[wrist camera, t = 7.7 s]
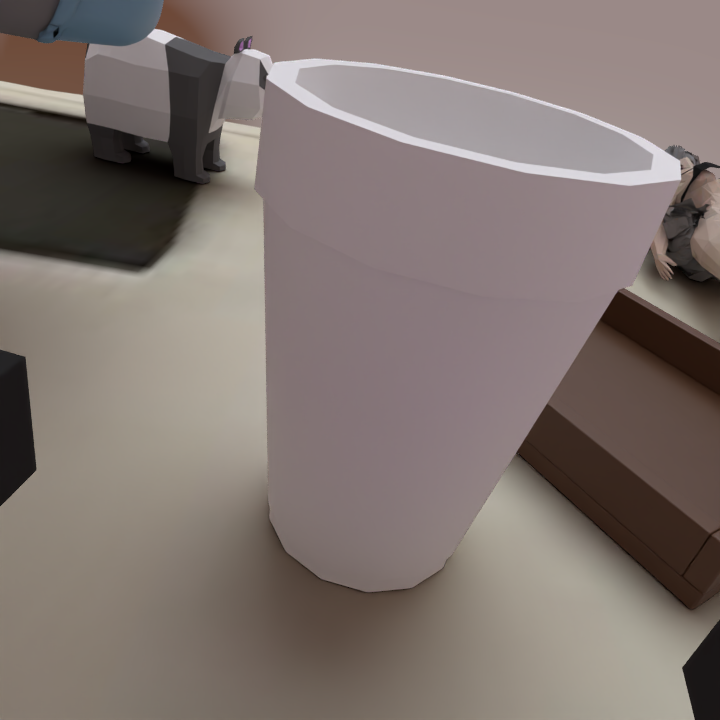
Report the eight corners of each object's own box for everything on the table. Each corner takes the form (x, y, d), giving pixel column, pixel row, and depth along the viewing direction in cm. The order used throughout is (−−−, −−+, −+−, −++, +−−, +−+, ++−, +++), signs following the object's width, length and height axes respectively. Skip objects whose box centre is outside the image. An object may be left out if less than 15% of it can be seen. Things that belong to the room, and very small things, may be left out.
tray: (384, 332, 32) (396, 282, 31) (561, 303, 40) (578, 261, 38) (691, 611, 21) (734, 553, 19) (860, 496, 28) (901, 447, 27)
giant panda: (72, 154, 45) (65, 0, 40) (110, 137, 50) (108, -2, 45) (275, 203, 44) (294, 54, 39) (294, 182, 49) (313, 46, 44)
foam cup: (307, 393, 27) (369, 53, 20) (523, 485, 24) (678, 137, 17) (157, 545, 19) (174, 72, 12) (452, 703, 17) (683, 228, 10)
